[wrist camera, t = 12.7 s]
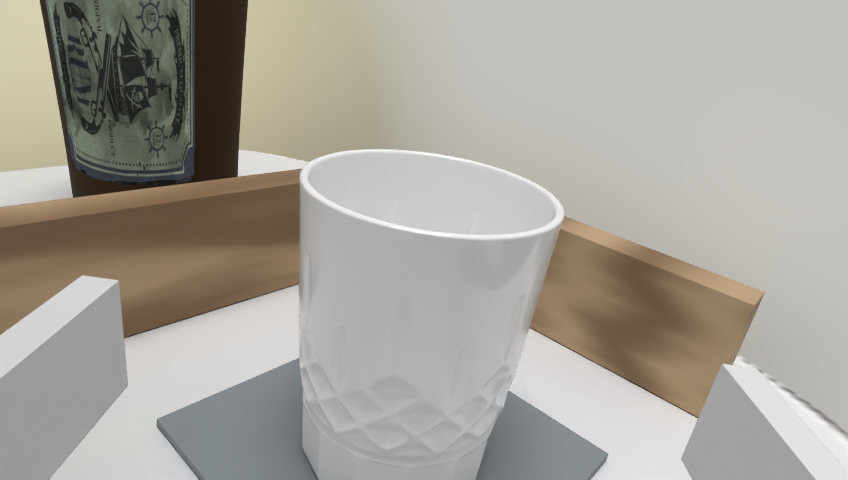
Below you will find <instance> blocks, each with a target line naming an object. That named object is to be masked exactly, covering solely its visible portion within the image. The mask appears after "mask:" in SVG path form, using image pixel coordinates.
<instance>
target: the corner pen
mask: <svg viewBox="0 0 848 480" xmlns="http://www.w3.org/2000/svg"><path fill="white" fill-rule="evenodd" d="M301 170H302V169H296V170H288V171H280V172H272V173H265V174H257V175H249V176H241V177H233V178H225V179H217V180H210V181H202V182H194V183H186V184H178V185H170V186H162V187H155V188H147V189H139V190H131V191H123V192H115V193H107V194H100V195H92V196H84V197H76V198H68V199H60V200H52V201H45V202H37V203H29V204H21V205H13V206H5V207H0V335H1V334H3V333H4V332H5V331H7V330H8V329H10V328H11V327H12V326H14V325H15V324H16V323H18V322H19V321H20V320H22V319H23V318H25V317H26V316H27V315H29V314H30V313H31V312H33V311H34V310H36V309H37V308H38V307H40V306H41V305H42V304H44V303H45V302H46V301H48V300H49V299H51V298H52V297H53V296H55V295H56V294H57V293H59V292H60V291H62V290H63V289H64V288H66V287H67V286H68V285H70V284H71V283H73V282H74V281H75V280H77V279H78V278H79V277H81V276H82V275H84V276H91V277H98V278H105V279H113V280H119V288H120V299H121V311H122V322H123V334H124V337H128V336H131V335H134V334H137V333H141V332H144V331H147V330H150V329H153V328H157V327H160V326H163V325H166V324H170V323H173V322H176V321H179V320H183V319H186V318H189V317H192V316H195V315H199V314H202V313H205V312H208V311H212V310H215V309H218V308H221V307H224V306H228V305H231V304H234V303H237V302H241V301H244V300H247V299H250V298H253V297H257V296H260V295H263V294H266V293H270V292H273V291H276V290H279V289H282V288H286V287H289V286H292V285H295V284H299V176H300V172H301ZM763 295H764V292H763V291H760V290H758V289H755V288H752V287H750V286H747V285H744V284H742V283H739V282H737V281H734V280H731V279H729V278H726V277H723V276H721V275H718V274H715V273H712V272H710V271H707V270H705V269H702V268H700V267H697V266H694V265H692V264H689V263H686V262H684V261H681V260H678V259H676V258H673V257H671V256H668V255H665V254H663V253H660V252H657V251H655V250H652V249H649V248H647V247H644V246H642V245H639V244H636V243H634V242H631V241H628V240H626V239H623V238H620V237H618V236H615V235H612V234H610V233H607V232H605V231H602V230H599V229H597V228H594V227H591V226H589V225H586V224H583V223H581V222H578V221H576V220H573V219H570V218H567V217H565V216H564V219H563V222H562V225H561V228H560V232H559V235H558V238H557V241H556V244H555V247H554V251H553V254H552V257H551V260H550V263H549V266H548V270H547V273H546V276H545V279H544V283H543V286H542V289H541V292H540V296H539V299H538V302H537V305H536V309H535V312H534V315H533V318H532V321H531V324H530V328H532V329H534V330H536V331H538V332H540V333H542V334H543V335H545V336H547V337H549V338H551V339H553V340H555V341H556V342H558V343H560V344H562V345H564V346H566V347H568V348H570V349H571V350H573V351H575V352H577V353H579V354H581V355H583V356H584V357H586V358H588V359H590V360H592V361H594V362H596V363H597V364H599V365H601V366H603V367H605V368H607V369H609V370H611V371H612V372H614V373H616V374H618V375H620V376H622V377H624V378H625V379H627V380H629V381H631V382H633V383H635V384H637V385H638V386H640V387H642V388H644V389H646V390H648V391H650V392H652V393H653V394H655V395H657V396H659V397H661V398H663V399H665V400H666V401H668V402H670V403H672V404H674V405H676V406H678V407H680V408H681V409H683V410H685V411H687V412H689V413H691V414H693V415H694V416H696V417H698V418H699V416H700V413H701V411H702V409H703V407H704V404H705V402H706V400H707V397H708V395H709V393H710V390H711V388H712V386H713V383H714V381H715V379H716V376H717V374H718V372H719V369H720V367H721V365H722V364H728V365H733V363H734V361H735V358H736V356H737V354H738V351H739V349H740V347H741V345H742V343H743V340H744V338H745V335H746V333H747V331H748V329H749V327H750V324H751V322H752V320H753V318H754V315H755V313H756V311H757V309H758V306H759V304H760V302H761V300H762V297H763Z"/></svg>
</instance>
